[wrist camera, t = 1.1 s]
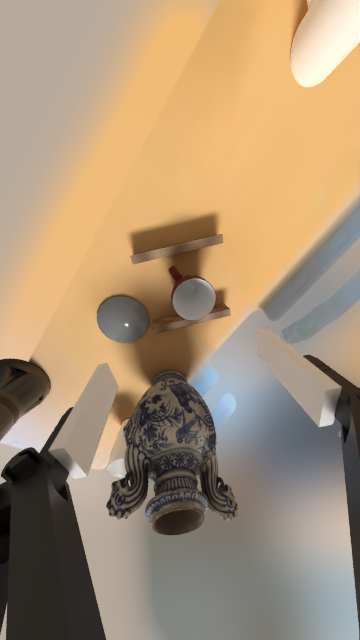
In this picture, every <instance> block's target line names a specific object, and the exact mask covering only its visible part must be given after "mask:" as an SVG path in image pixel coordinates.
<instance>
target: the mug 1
mask: <svg viewBox="0 0 360 640" xmlns="http://www.w3.org/2000/svg"><path fill="white" fill-rule="evenodd" d="M169 272H170V274H171V275H172V277H173V278H174V280H175V281H176V284H175V286H174V288H173V290H172V295H171V299H172V304H173V308H174V310H175V312H176V313H177V314H178V315H179V316H180V317H182V318H183V319H186V320H190V321H196V320H200V319H203V318H204V317H206V316H207V315H208V314H210V312H211V311H212V310H213V308H214V306H215V302H216V294H215V290H214V288H213V287H212V285H211V284H210V283H209V282H208V281H206V280H205V279H203V278H201V277H199V276H186V277H182V276H181V275H180V273H179V272H178V270H177V269H176V267H175V266H172V267H171V268H170V269H169Z"/></svg>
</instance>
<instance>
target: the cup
mask: <svg viewBox="0 0 360 640" xmlns="http://www.w3.org/2000/svg"><path fill="white" fill-rule="evenodd" d="M129 419H130V418H128V419H126V420H124V421H123V422H122V425H121V427H120V430H119V432H118V435H117V438H116V440H115V443H114V445H113V448H112V451H111V454H110V458H109V464H108V471H109V473H110V474H112V475H113V476H117V477H125V475H126V469H125V463H124V457H125V450H126V448H127V447H126V443H125V438H124V431H123V428H124V426H125V425H126V424H127V422H128V420H129Z"/></svg>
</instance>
